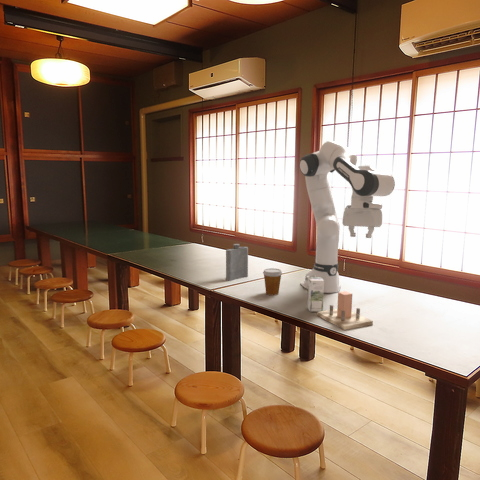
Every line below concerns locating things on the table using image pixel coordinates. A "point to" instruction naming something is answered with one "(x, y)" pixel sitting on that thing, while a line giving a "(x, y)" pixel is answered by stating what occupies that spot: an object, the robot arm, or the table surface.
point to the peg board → (343, 322)
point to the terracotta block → (344, 303)
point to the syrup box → (315, 294)
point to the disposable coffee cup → (272, 280)
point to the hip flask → (236, 262)
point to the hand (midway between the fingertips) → (360, 237)
